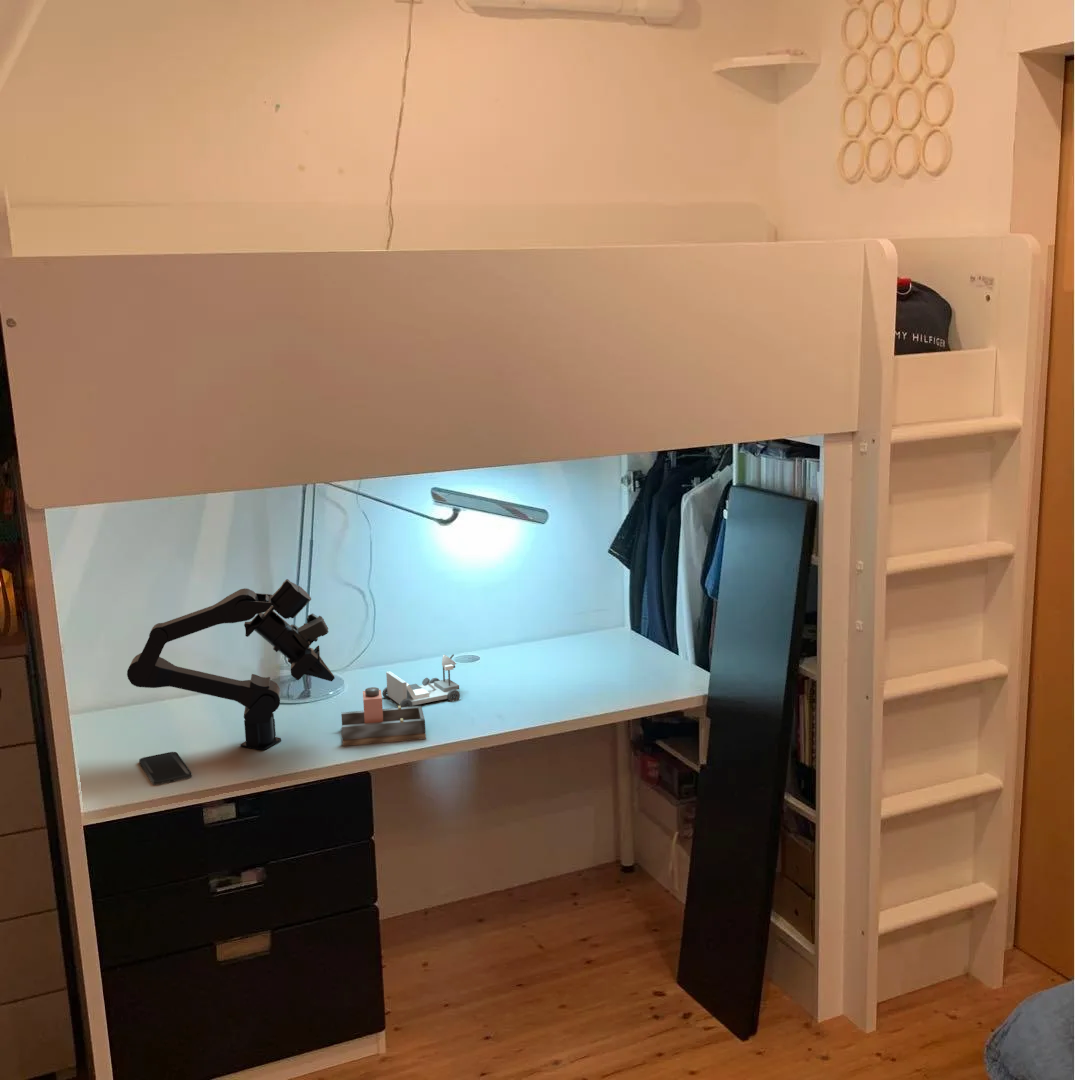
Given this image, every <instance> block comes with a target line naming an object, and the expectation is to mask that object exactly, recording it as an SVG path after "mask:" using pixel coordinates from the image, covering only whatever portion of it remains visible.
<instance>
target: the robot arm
mask: <svg viewBox="0 0 1075 1080" xmlns="http://www.w3.org/2000/svg"><path fill="white" fill-rule="evenodd" d="M311 600H312V597H311V596H310V594H308V592H307V591H305V589H303V588H302V587H301V586H300V585H297V584H296V583H295V582H293V581H290V580H289V579H285V580H284V581H283V582H282V584H281V585H280V587H279V588H278V589H277V590H276V591H275V592H274V593H273V594H272V593H270V594H269V593H258V592H255V591H254V590H253V589H249V588H247V587H245V588H241V589H238V590H236V591H235V592H233V593H231V594H229V595H227V596H226V597H224V598H223V599H220V601H218V602H217V603H214V604H213V605H211V606H207V607H204V608H201V609H198V610H196V611H193V612H190V613H187V614H184V615H181V616H179V617H176V618H173V619H170V620H167V621H164V622H159V623H156V624H154V625H153V626H152V628H151V630H150V631H149V633H148V634H149V635H148V639H147V641H146V643H145V644H144V647H143V649H142V652H140V653H138V654H137V655H135V656H134V657H133V659H132V660H131V663H130V664H129V666H128V668H127V670H126V671H127V673H126V677H127V679H128V680H129V683H130V684H131V685H132V686H134V687H136V688H145V689H146V688H148V689H151V688H152V689H155V688H156V689H158V688H167V687H168V688H169V687H170V688H176V689H180V690H184V691H188V692H189V691H190V692H193V693H198V694H203V695H207V696H211V697H217V698H220V699H225V700H230V701H233V702H234V701H235V702H237V703H238V704H240V705H242V706H243V707H244V711H243V712H244V713H243V719H244V721H243V722H244V724H243V725H244V738H245V741H243V742H241V743H240V744H239V745H240V747H241V748H247V749H255V750H260V751H264V750H265V751H266V750H267V749H269V748H270V747H272V746H274V745H277V744H278V743H279V742H281V741H282V738H281V737H278V736H277V735H276V732H277V731H276V720H275V715H274V714H275V712H276V710H278V709H279V707H280V704H281V694H282V692H281V688H280V685H278V683H277V682H275V681H273V680H271V676H267V677H264V676H261V675H257V674H253V673H251V676H250V679H246V680H244V679H243V680H239V679H234V678H229V677H225V676H221V675H217V674H213V673H207V672H204V671H198V670H195V669H190V668H186V667H181V666H178V665H175V664H173V663H171V662H170V661H169V660H167V659H166V658H163V657H161V653H162V652H163V649H164V647H165V645H166V644H167V643H169V642H172V641H174V640H178V639H180V638H184V637H187V636H188V635H189V636H190V635H192V634H195V633H197V632H200V631H201V632H202V630H206V629H209V628H212V627H215V626H218V625H222V624H236V623H241V622H242V623H243V622H244V624H243V626H244V629H245V637H246V638H247V637H248V638H249V637H250V635H251V634H252V633H254V632H256V633H257V634H258V635H259V636H260V637H261V638H263V639H264V640H265V641H266V642H268V644H270V646H272V647H273V648H272V649H273V651H274V652H276V653H278V652H279V653H281V655H283V656H284V657H285V658H286V659H287V662H288V664H290V676H292V677H293V678H294V679H295V680H296V681H299V680H300V679H301V678H303V676H304V675H305V676H306V675H307V676H310V677H314V678H318V679H321V680H325V681H329V682H333V681H334V680H335V674H333V673H332V672H331V670H330V668H329V667H328V666H327V664H326V663H325V662H324V660H323V658H322V657H321V653H320V645H317V646H316V647H315V648H312V647H310V646H311V645H312V644H313V643H314V642H317V641H319V638H320V637H324V636H326V635H327V634H328V633H329V628H328V625H327V624H326V621H325V619H324V618H323V616H321V615H318V616H317V615H315V614H314V613H311V614H308V615H307V616H306V623H303V625H301V626H300V627H298V626H297V625H295V624H289V622H287V621H286V620H287V619H288V620H289V619H290V618H291V619H294V618H295V617H296V616H297V615H298V614H299V613H300V612H301V611H302V610H303V609H304V608H305V607H306V606H308V604H309V603H310V602H311ZM285 619H286V620H285Z"/></svg>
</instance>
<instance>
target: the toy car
mask: <svg viewBox="0 0 1075 1080" xmlns="http://www.w3.org/2000/svg"><path fill="white" fill-rule="evenodd" d="M442 655H443V656H442V660H441V666H442V676H443V677H442V679H441V680H440V679H439V678H438V677H434V678H433V677H432V678H431V679H430V678H429V677H424V679H422V681H421V685H418V683H412V684H409V683H408V682H406V681H405V680H404V679H403V678H400V677H399V676H398V675H396V674H395V673H393V672H392V671H386V687H384V689H383V690H382V692H381V695H382V698H384V699H389V698H390V699H391V700H393V701H394V702H395V703H396V704H398V705H399V706H401V708H402V707H414V706H419V705H422V704H426V703H431V702H436V701H443V700H448V701H449V702H454V701H459V699H460V698H461V697H460V696H461V694H460V691H458V690H460V684H458V683H456V682H455V681H453V680H451V671H452V670H454V669H455V668H456V665H457V663H456V661H454V660H453V659H452V658H453V657H454V656H455V654H454V653H452V654H451V656H450V657H449V656H447V655H446V654H442ZM446 672H447V677H448V678H446V676H445V675H446V674H445V673H446Z"/></svg>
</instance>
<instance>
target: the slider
mask: <svg viewBox="0 0 1075 1080" xmlns="http://www.w3.org/2000/svg"><path fill="white" fill-rule="evenodd" d="M362 701H363V702H362V704H363V711H364V722H365V723H375V722H383V709H384V708H383V694H382V690H381V689H379V687H375V686H373V687H367V688H365V689H364V690H362Z"/></svg>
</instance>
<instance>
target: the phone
mask: <svg viewBox="0 0 1075 1080" xmlns="http://www.w3.org/2000/svg"><path fill="white" fill-rule="evenodd" d="M138 762H139V766H140V767H141V769H142V770H143V772H144V773H145V775H146V776H147V777H148V779H149V782H150V783H151V784H152V785H153V786H161V785H166V784H170V783H175V782H180V781H184V780H188V779H191V778H192V776H193V775H192V772H191V770H190V769H189V767H188V766H187V764H186V763H185V762H184V760H182V758H181V757H180V755H179V754H178V752H176V751H169V752H168V751H167V752H164V753H159V754H153V755H149V756H144V757H141V758H139V761H138Z"/></svg>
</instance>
